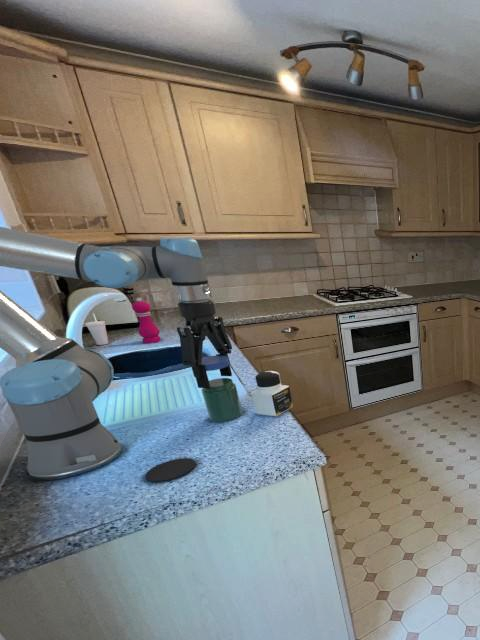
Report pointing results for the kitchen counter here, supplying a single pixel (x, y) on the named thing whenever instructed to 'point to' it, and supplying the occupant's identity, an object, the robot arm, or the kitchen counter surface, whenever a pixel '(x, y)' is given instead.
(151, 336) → the pepper mill
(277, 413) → the medicine bottle
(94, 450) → the robot arm
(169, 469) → the rubber mat
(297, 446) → the kitchen counter surface
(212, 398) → the jam jar
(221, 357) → the jam lid
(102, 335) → the smoothie
